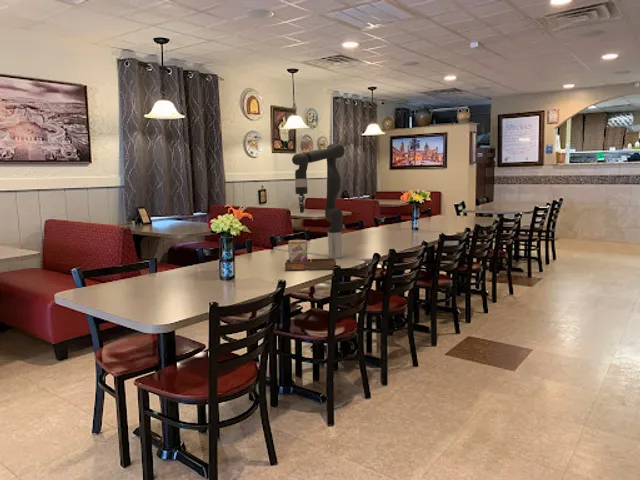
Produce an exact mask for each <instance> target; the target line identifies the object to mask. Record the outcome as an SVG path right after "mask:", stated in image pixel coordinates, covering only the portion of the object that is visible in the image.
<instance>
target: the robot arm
mask: <svg viewBox="0 0 640 480" xmlns="http://www.w3.org/2000/svg"><path fill="white" fill-rule="evenodd" d="M345 152H346V151H345V147H344V145H342V144H340V143H333V144H331V143H330V144H328V145H327V147H326V148H324V149H322V148H321V149H316V150H315V149H314V150H310V151H307V152H306V151H305V152H301V153H295V154H294V155H293V156H292V158H291V161H292V164H294V166H295V165H296V166H298V169H296V170H295V172H294V176H295V177H294V178H295V180H294V186H295V187H294V188H295V189H294V190H295V195H299V196H298V204H299V205H298V206H299V213H300V214H303V213H305V203H306V197H305V195H307V194H308V192H309V191H308V180H307V179H308V178H307V171H308V166H309V164H311V163H316V162H319V161H323V160H326V174H327V175H326V203H325V210H324V211H325V212H324V217H325V220H327V222H331V224H330V226H329V227H328V228H327V239H328V240H327V245H328V246H327V247H328V248H327V249H328V251H327V252H328V258H336V259H342V257H343V239H342V238H343V237H342V231H343V227H344V225H343V224H344V223H343V222H344V221H343V219H344V215H343V212H342V211H343V210H341V209H340V208H338V207H336V204H337V202H336V201H337V198H338V196H339V194H340V191H341V188H342V186H341V185H342V184H341V181H342V179H341V176H340V173H339V170H338V169H337V168H338V167H337V164H336V160H337V159H340V158H342V157H343V156H344V155H345Z"/></svg>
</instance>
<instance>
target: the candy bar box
mask: <svg viewBox="0 0 640 480" xmlns="http://www.w3.org/2000/svg"><path fill="white" fill-rule="evenodd" d="M287 245H288V260H289V263H292V262H308V259H309V258H308V257H309V255H308V254H309V253H308V240H307V239H301V240H299V239H295V240H293V239H292V240H288V243H287Z"/></svg>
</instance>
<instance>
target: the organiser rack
mask: <svg viewBox="0 0 640 480" xmlns="http://www.w3.org/2000/svg"><path fill="white" fill-rule="evenodd" d="M335 265H336V266H337V258H329V257H328V258H308V262H292V263H289V259H286V260H285V263H284V268H285V269H284V271H285V272H301V271H302V272H304V271H305V270H309V271H334V270H333V266H335Z"/></svg>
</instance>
